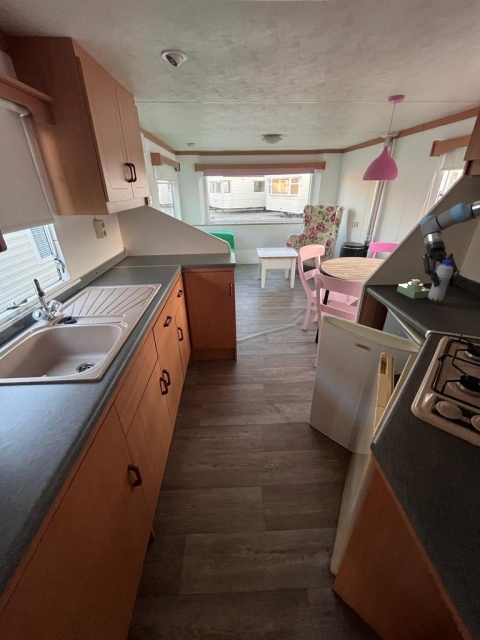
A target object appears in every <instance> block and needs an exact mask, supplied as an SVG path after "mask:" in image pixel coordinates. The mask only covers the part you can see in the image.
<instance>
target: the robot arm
mask: <svg viewBox="0 0 480 640" xmlns="http://www.w3.org/2000/svg"><path fill="white" fill-rule="evenodd" d="M479 218H480V200H479V201H476V202H473V203H470V204H465V203H462V202H461V203H458V204H456V205H453V206H452V207H451V208H450V209H448V210H446V211H444V212H442V213H440V214H439V215H436V214H430V215H428V216H427V215H426V216H424V217H423V218H422V219H421V220H420V223H419V225H420V231H421V234H422V238H423V241H424V246H425V250H426V251H425V252H426V253H424V254H423V255H422V256H421V258H422V260H423V267H424V268H423V269H424V274H426V275H427V274H428V276H429V277H430V280H431V281H432V284H434V287H437V286H439V285H440V284H439V280H438V276H437V273H435V272H436V266H437V262H439V264H440V265H443V261H444V260H451V261H452V264H451V265H450V266H452V267H453V273H452V276H451V278H450V279H449V282H448V285H449V288H453V287H455V286H456V275H455V273H458V271H459V269H458V266H457V264H456V260H455V258H454V253H447V251H446V245H445V242H444V238H443V237H444V236H443V233H442V231H444V230H446V229H448V228H450V227H452V226H454V225H458V224H461V223H466V222H470V221H472V220H475V219H479Z"/></svg>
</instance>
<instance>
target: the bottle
mask: <svg viewBox="0 0 480 640" xmlns="http://www.w3.org/2000/svg"><path fill="white" fill-rule="evenodd" d="M442 261H443V260H442ZM451 264H452V261H451V260H444V261H443V265H442V264H440V265H438V266H437V268H436V269H435V272H434V273H437V276H438V280H439V284H440V285H439V286H437V287H434V284H433V283H432V284H431V287H430V288H429V289H430V292H429V295H428V297H427V298H428V299H429V300H430V301H434V302H441V301H442V300H443V299H444V297H445V295H446V291H447V288H448V285H449V279H450V278H451V276H452V273H453V267H452V266H450V265H451Z"/></svg>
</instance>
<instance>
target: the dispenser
mask: <svg viewBox="0 0 480 640" xmlns="http://www.w3.org/2000/svg"><path fill="white" fill-rule="evenodd" d="M411 282H412V281H408V282H407V283H401V284H400V283H399V284H398V286H397V289H396V292H398V293H399V294H401V295H404V296H406V297H408V298H411V299H412V300H414V299H424V298H428V295H429V292H430V289H431V288H427V287H424V284H423V283H422V282H420V285H413V284H411Z"/></svg>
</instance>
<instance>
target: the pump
mask: <svg viewBox="0 0 480 640" xmlns="http://www.w3.org/2000/svg"><path fill="white" fill-rule="evenodd" d="M410 282H411V284H413V285H420V283H422V280H420V279H416V278H413V279H411V281H410Z"/></svg>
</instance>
